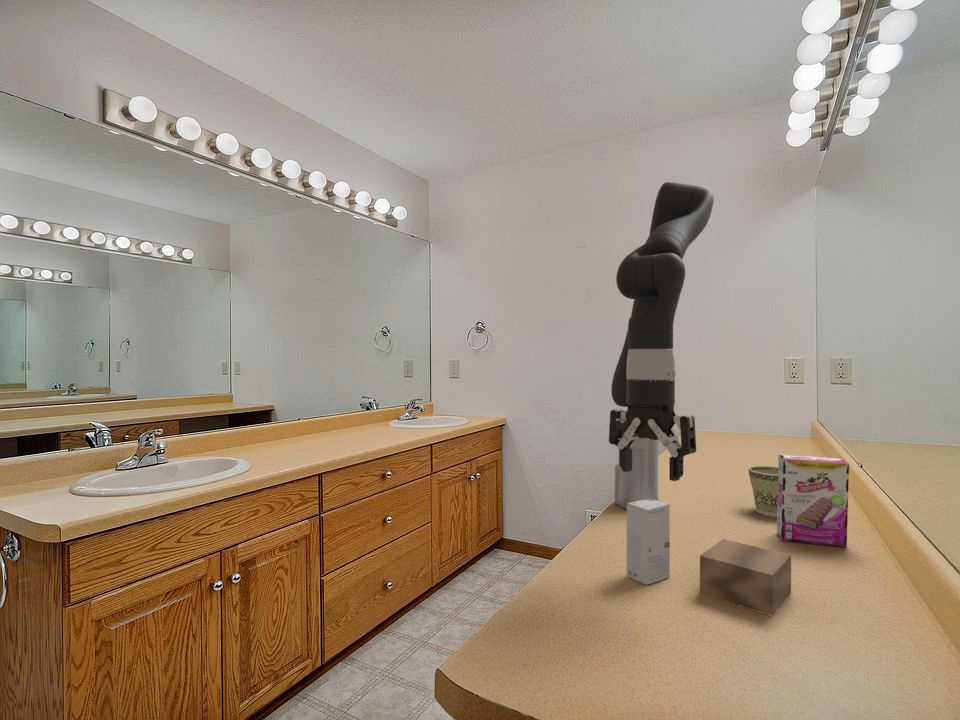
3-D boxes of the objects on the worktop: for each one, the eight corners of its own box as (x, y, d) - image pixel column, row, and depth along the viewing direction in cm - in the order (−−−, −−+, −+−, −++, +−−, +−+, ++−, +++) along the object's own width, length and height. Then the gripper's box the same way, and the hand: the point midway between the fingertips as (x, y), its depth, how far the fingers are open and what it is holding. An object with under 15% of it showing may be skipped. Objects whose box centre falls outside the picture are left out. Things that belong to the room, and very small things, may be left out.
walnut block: (699, 594, 78) (699, 555, 78) (722, 574, 86) (723, 538, 86) (772, 617, 71) (772, 575, 71) (790, 594, 79) (791, 555, 79)
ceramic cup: (750, 517, 115) (750, 472, 115) (745, 505, 125) (746, 464, 124) (818, 524, 110) (818, 478, 110) (808, 511, 120) (808, 468, 120)
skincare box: (646, 586, 81) (647, 509, 80) (624, 576, 84) (625, 503, 84) (671, 577, 84) (672, 503, 84) (648, 567, 88) (649, 497, 88)
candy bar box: (781, 541, 100) (782, 458, 100) (776, 533, 105) (776, 453, 105) (849, 549, 96) (850, 462, 96) (840, 540, 101) (841, 457, 101)
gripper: (600, 376, 87) (600, 471, 87) (681, 378, 76) (681, 487, 76) (624, 375, 92) (624, 465, 92) (703, 377, 81) (703, 479, 81)
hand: (650, 475), depth 84 cm, fingers open, 8 cm apart
